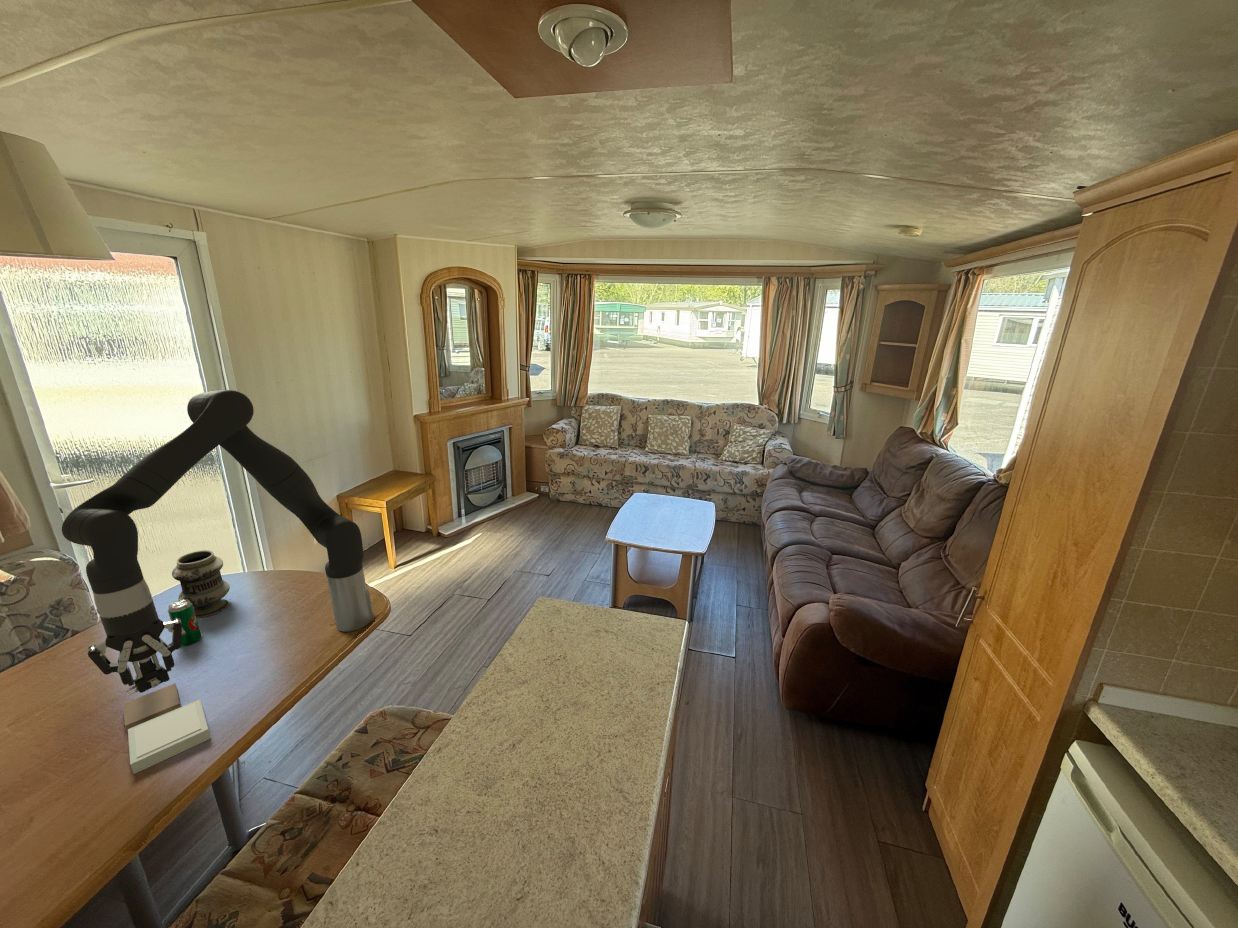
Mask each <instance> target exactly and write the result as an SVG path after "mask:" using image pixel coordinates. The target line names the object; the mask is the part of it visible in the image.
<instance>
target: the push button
mask: <svg viewBox="0 0 1238 928" xmlns="http://www.w3.org/2000/svg"><path fill="white" fill-rule="evenodd" d="M157 653H158V651H156V650H155V649H153V648H152V647H150V648H149V647H146V645H144V646H141V647H138V648H135V649H134V651H133V654H130V655H129V660H128V662H127V663H132V666H133V668H134V672H135V674H136V675H135V676H134V678H133V680H134V685H132V686H131V687H129V688H128V689H125V692H126V693H127V694H126V696H127V697H130V696H132V695H133V694H135V693H138V692H139V693H140V694H142V693H144V692H146V691H148V690H151V689H154V688H157V687H158V686H159V685H160V684H162V683H166V682H168V681H170V676H169V673H168V672H167V670H166V667H164V666H163V665H161V664H160V661H159V659H158V656H157ZM130 691H131V692H130ZM128 692H129V693H128Z"/></svg>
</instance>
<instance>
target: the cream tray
mask: <svg viewBox="0 0 1238 928" xmlns="http://www.w3.org/2000/svg"><path fill="white" fill-rule="evenodd" d="M208 726H209V725H208V722H207V719H206V714H205V710H204V706H203V703H202V699H201V698H199V699H198V700H195V701H192V702H190V703H188V704H185V705H183V706H181V707H180V708H178V709H175V710H173V711H171V712H168V713H166V714H163V715H161V716H159V717H156V718H154V719H151V720H149V721H147V722H144V723H142V724H139V725H137V726H135V727H132V728H130V729H128V733H127V735H128V736H127V737H128V751H129V764H130V767H131V770H132V773H133V774H134V775H135V774H137V773H140V772H142V771H143V770H147V769H148V768H150V767H153V766H154V765H157V764H159V763H161V762H163V761H165V760H167V759H169V758H172V757H174V756H176V755H178V754H180V753H182V752H184V751H187V750H189V749H191V748H193V747H195V746H198V745H200V744H202V743H203V742H205V741H209V740H211V739H212V737H211V733H210V730H209V727H208Z"/></svg>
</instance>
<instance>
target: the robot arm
mask: <svg viewBox="0 0 1238 928" xmlns="http://www.w3.org/2000/svg"><path fill="white" fill-rule="evenodd" d="M186 407H187V408H186V411H187V415H188V418H189V419H190V421H191V423H192V424H190V426H188V427H187V428H186V429H185V430H183V431H182V432H181V433H179V434H178V435H177V436H175V437H173V438H172V439H171V440H169V441H167V442H166V443H164V444H162V445H161V446H159V447H157V448H156V449H154V450H152V451H151V452H150V453H148V454H147V455H146V456H144V457H143V458H142V459H140V460H139V461H138V462H137V463H135V464H134V465H133V466H132V467H131V468H130V469H129V470H128V471H127V472H125V473H124V474H123V475H122V476H121V477H120V478H118V480H117V481H116V482H114V483H113V484H112V485H110V486H109V487H107V488H105V489H103V490H101V491H100V492H98V493H96V494H95V495H94V496H92V497H90V498H89V499H87V500H85V501H84V502H82V503H81V504H79V505H78V506H77V507H75V508H73V510H72V511H70V512H69V514H68V515H67V516H66V517H65V519H64V521H63V522H62V525H61V532H62V533H61V534H62V536H63V538H65V540H67V541H69V542H71V543H72V544H74V545H75V544H76V545H79V546H80V545H81V546H88V547H90V548H91V549H92V550H91V551H92V555H93V558H92V559H91V560H90V561H89V562H88V563H87V564H86V567H85V573H86V577H87V579H88V582H89V586H90V588H91V591H92V594H93V600H94V604H95V605H94V606H95V607H96V613H97V614H98V615H99V618H100V622H101V625H102V627H103V630H104V632H105V636H106V638H105V640H104V641H103V642H101V643H98V644H97V645H94V644H92V645H90V646H88V648H87V657H89V659H90V661H92V662H93V664H95V666H97V668H98V669H99V670H100V671H101V672H102V674H104V675H106V676H107V675H110V674H112V673H118V675H119V676H120V677H119V678H120V680H121V682H122V684H123V685H124V686H126V685H128V687H133V686H135V684H134V677H133V674H132V672H131V669H130V667H129V664H128V663H129V662H128V660H129V655H130V654H133V651H134V649H135V648H138V647H141V646H144V645H146V647H149V648H150V647H152V648H153V649H155V650H156V651H157V653H159V654H161V658H162V661H163V664H164V668H165V669H166V670H167V672H171V671H172V669H173V668H175V661H174V657H173V653H174V651H176V650H180V649H181V648H182V646H181V637H182V623H181V619H180V618H175V619H174V620H173V621H171V620H169V621H163V620H161V619H160V617H159V615H158V612H157V609H156V606H155V603H154V599H153V595H152V593H151V591H150V587H149V585H148V584H147V582H146V579H145V578H144V575H143V574H144V573H143V571H142V569H141V566H140V562H139V560H138V555H139V554H138V553H139V531H138V527H137V524H136V522H135V521H134V520H133V518H132V516H130V514H132V513H134V512H135V511H138V510H143V509H148V508H150V507H152V506H153V505H155V504H156V503H157V502H159V500H160V499H161V498H162V497H163V496H164V495H166V494H167V492H168V491H169V490H171V488H173V487H174V485H176V484H177V482H179V480H180V479H182V477H184V476H185V474H186V473H188V472H189V471H190V470H191V469H192V468H193V467H194V466H196V464H198V463H199V462H200V461H201V460H203V458H204V457H206V456H207V455H208V454H210V453H211V452H212V451H213V450H214V449H216V448H217V447H218V446H220V447H221V448H223V450H225V451H226V452H227V453H228V454H229V455H231V456H232V458H234V459H235V460H236V461H237V463H238V464H239V465H240V466H241V467H242V468H243V469H244V470H246V472H248V474H250V475H251V477H253V479H255V481H256V482H258V484H259V485H260V486H261V487H262V488H263V489H264V490H265V491H266V492H267V493H268V494H269V495H271V497H272V498H274V500H276V501H277V502H278V503H279V504H280V505H282V506H283V508H286V509H287V510H288V511H289V512H291V513H292V514H293V515H294V516H296V517H297V519H299V520H300V522H302V524H303V525H304V527H306V529H307V530H308V531H309V533H310V535H311V536H312V538H313V539H315V541H316V542H317V543H318V544H319V545H321V546H322V547H324V548H325V549H326V552H327V558H328V559H327V560H328V561H327V562H326V563H325V565H324V571H325V575H326V580H327V581H326V582H327V587H328V590H329V595H330V600H331V601H330V602H331V607H332V612H333V616H334V622H335V628H336V629H337V630H338V631H340V632H345V633H346V632H347V633H348V632H354V631H357V630H360V629H362V628H364V627H366V626H368V625H369V623H370V622H372V621H374V620H375V618H374V617H375V616H374V611H373V606H372V604H373V603H372V601H371V595H370V594H371V593H370V591H369V590H368V589H367V583H366V577H365V572H364V566H363V561H364V556H365V555H364V554H365V553H364V544H363V538H362V533H361V529H360V527H359V525H358V524H357V523H356V522H354V521H352V520H351V519H349V518H347V517H344V516H342V515H341V514H339V513H338V512H336V511H335V510H334V509H333V508H331V507H330V506H329V505H328V504H327V503H326V502H325V500H323V498H322V497H321V496H320V494H319V492H318V491H317V488H316V485H315V484H314V482H313V481H312V479H311V477H310V476H309V475H308V474H307V472H306V471H305V470H304V469H303V468H302V467H301V466H300V465H299V463H298V462H297V461H295V459H293V458H292V457H291V456H290V455H289V454H287V453H285V452H284V451H282V450H281V449H279V448H277V447H275V446H274V445H272V444H271V443H269V442H267V441H265V440H264V439H263V438H261V437H260V436H258V435H257V434H256V433H254V432H253V430H251V429H250V428H249V427H248V424H249V423H250V422H251V421H252V419H253V416H254V411H255V409H254V406H253V403H252V401H251V399H250V398H249V397H248V396H247V395H246V394H244V393H242V392H240V391H237V390H233V389H219V390H211V391H206V392H202V393H198V394H196V395H193V396H192V397H191V398H190V399H189V401H188V402H187V405H186ZM164 629H167V631H168V632H170V633H172V635H171V636H172V638H171V640H172V641H171V642H170V643H168V644H167V643H166V642H165V641H164V640H163V639H162V638H161V635H162V633H163V631H164ZM107 648H109V649H111V650H115V651H117V652H118V658H117V662H111V661H110V659H108V657H107V656H106V653H107V650H106V649H107Z"/></svg>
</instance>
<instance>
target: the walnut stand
mask: <svg viewBox="0 0 1238 928" xmlns="http://www.w3.org/2000/svg"><path fill="white" fill-rule="evenodd" d="M180 707H182V704H181V699H180V695H179V691H178V688H177V684H176V683H172V684H170V685H167V686H163V687H162V688H160V689H157V690H155V691H152V692H149V693H146V694H144V695H142V696H139V697H137V698H135V699H134V698H133V699H131V700H129V701H126V702H123V715H124V717H123V718H124V719H123V721H124V727H125V730H126V733H127V734H128V729H130V728H132V727H135V726H137V725H139V724H142V723H144V722H147V721H149V720H151V719H154V718H156V717H159V716H161V715H163V714H166V713H168V712H171V711H173V710H175V709H178V708H180Z"/></svg>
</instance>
